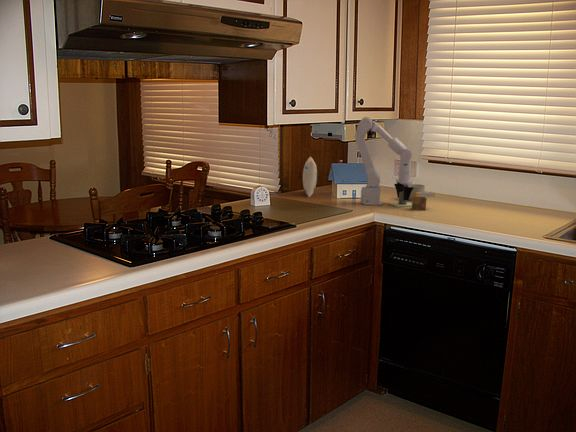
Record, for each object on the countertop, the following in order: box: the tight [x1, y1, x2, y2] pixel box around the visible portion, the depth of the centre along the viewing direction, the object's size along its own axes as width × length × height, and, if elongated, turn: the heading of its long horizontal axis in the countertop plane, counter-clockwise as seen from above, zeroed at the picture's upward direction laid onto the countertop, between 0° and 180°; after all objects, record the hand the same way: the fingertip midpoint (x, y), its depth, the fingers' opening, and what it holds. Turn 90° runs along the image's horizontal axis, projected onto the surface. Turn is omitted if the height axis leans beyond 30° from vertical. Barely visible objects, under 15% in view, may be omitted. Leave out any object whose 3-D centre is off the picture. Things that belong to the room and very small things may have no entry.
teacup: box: [408, 183, 426, 202], centre depth 318 cm, size 14×11×8 cm
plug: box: [398, 192, 408, 205], centre depth 302 cm, size 4×4×6 cm
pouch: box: [302, 155, 318, 198], centre depth 325 cm, size 8×19×20 cm, turn 176°
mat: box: [390, 201, 412, 208], centre depth 302 cm, size 10×8×1 cm
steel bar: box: [414, 191, 436, 198], centre depth 292 cm, size 10×3×2 cm, turn 105°
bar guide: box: [411, 196, 428, 211], centre depth 292 cm, size 5×5×6 cm
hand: (402, 198), depth 302 cm, fingers open, 7 cm apart
